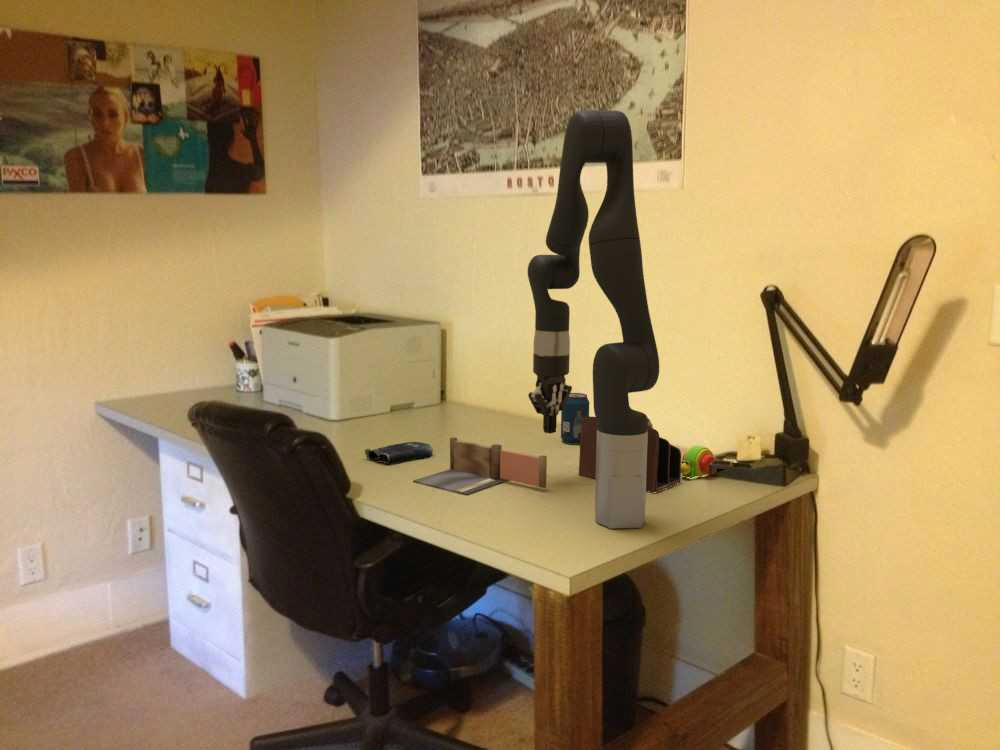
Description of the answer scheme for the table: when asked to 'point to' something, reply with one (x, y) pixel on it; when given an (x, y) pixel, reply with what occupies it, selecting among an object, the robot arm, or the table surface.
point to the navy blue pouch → (401, 452)
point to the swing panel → (523, 468)
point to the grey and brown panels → (468, 468)
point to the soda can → (573, 417)
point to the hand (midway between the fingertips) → (549, 432)
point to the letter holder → (659, 457)
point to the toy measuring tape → (696, 461)
